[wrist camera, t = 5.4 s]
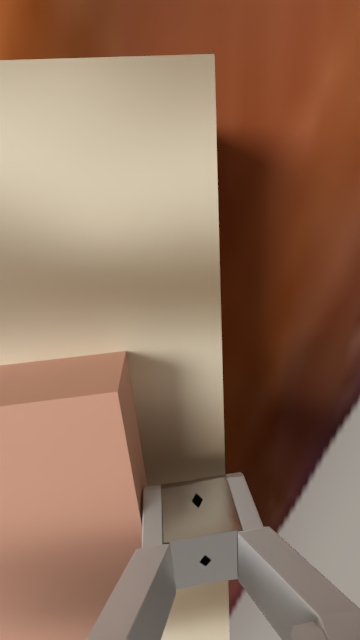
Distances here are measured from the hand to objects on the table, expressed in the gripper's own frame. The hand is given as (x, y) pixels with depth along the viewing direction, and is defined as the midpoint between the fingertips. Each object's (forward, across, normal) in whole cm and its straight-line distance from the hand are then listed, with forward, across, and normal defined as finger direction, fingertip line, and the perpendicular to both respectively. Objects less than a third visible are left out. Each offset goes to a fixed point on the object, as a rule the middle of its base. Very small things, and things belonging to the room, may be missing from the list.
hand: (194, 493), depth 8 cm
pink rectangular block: (+1, +4, 0) cm, 5 cm away
